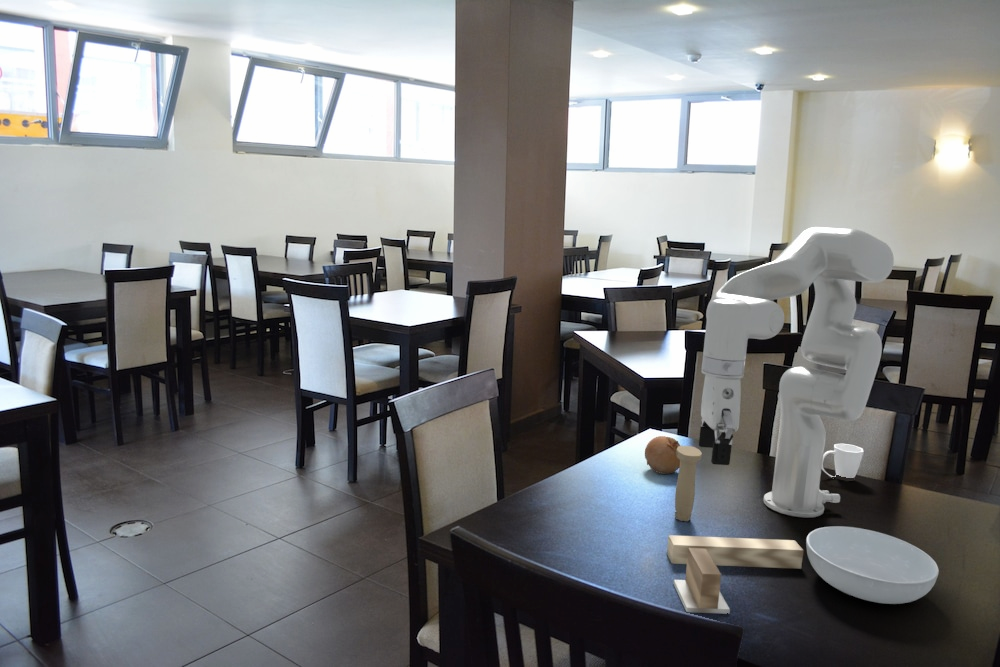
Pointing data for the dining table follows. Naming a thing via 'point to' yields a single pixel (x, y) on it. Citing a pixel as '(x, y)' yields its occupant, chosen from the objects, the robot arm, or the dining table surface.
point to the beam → (738, 551)
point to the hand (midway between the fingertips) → (713, 455)
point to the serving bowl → (871, 564)
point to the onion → (662, 455)
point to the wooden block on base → (701, 584)
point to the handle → (686, 481)
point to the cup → (845, 459)
